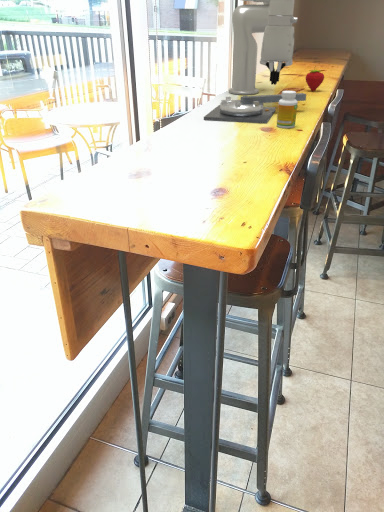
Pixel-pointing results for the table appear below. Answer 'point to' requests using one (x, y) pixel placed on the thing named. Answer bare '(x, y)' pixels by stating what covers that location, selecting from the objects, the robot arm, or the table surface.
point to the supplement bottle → (287, 110)
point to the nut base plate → (260, 118)
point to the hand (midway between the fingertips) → (273, 83)
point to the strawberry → (314, 79)
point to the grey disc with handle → (251, 104)
